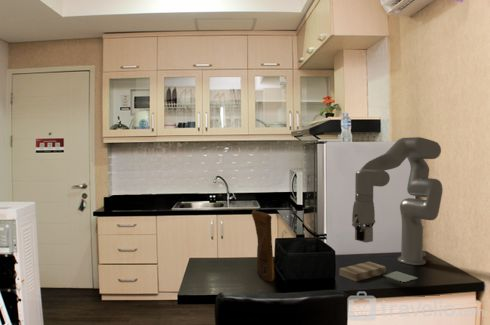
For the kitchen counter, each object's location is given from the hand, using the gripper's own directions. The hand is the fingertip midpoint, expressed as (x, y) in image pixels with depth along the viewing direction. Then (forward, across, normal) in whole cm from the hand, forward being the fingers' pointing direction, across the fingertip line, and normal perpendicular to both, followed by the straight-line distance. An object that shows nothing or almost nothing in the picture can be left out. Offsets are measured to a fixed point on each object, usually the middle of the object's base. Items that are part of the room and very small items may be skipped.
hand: (363, 238), depth 157 cm
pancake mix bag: (+15, +40, -21) cm, 47 cm away
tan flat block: (+16, +1, 0) cm, 16 cm away
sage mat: (+16, -10, +11) cm, 22 cm away
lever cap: (+1, 0, 0) cm, 1 cm away
